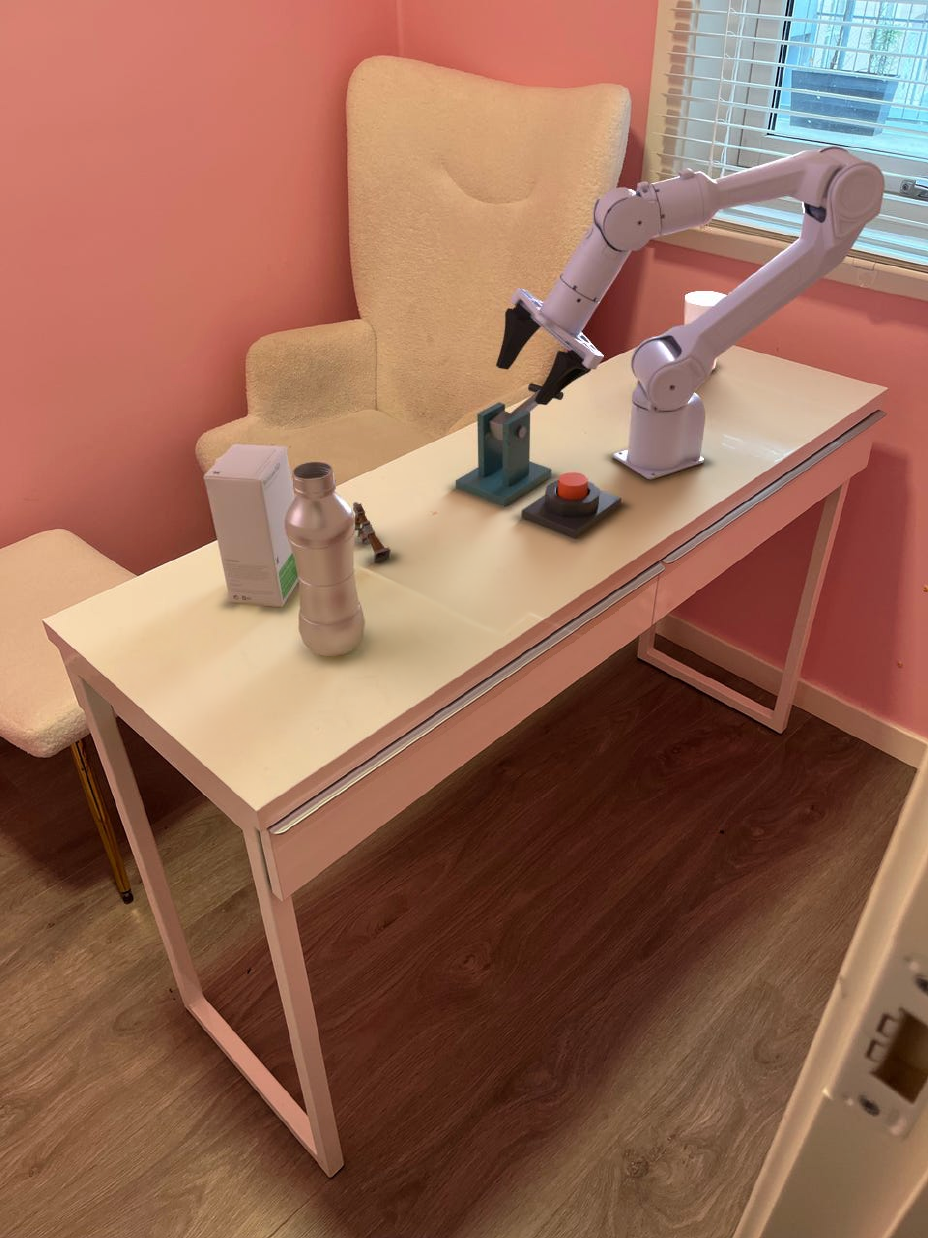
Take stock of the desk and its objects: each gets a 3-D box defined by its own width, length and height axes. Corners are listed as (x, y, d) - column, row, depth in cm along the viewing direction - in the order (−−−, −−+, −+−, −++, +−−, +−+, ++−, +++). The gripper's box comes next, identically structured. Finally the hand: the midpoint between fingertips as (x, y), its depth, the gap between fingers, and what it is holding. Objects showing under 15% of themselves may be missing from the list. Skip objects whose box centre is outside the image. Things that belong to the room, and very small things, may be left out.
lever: (533, 392, 129) (531, 376, 127) (564, 402, 126) (563, 385, 125) (482, 434, 123) (480, 418, 122) (513, 445, 121) (511, 428, 119)
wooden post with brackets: (359, 519, 118) (362, 496, 114) (386, 570, 115) (390, 548, 111) (345, 523, 117) (348, 500, 114) (372, 575, 114) (376, 552, 110)
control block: (568, 487, 125) (569, 466, 124) (621, 506, 121) (622, 484, 119) (521, 518, 119) (521, 497, 117) (575, 539, 115) (576, 517, 113)
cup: (677, 373, 154) (685, 304, 148) (677, 358, 160) (684, 290, 153) (720, 375, 153) (730, 305, 147) (718, 359, 159) (727, 291, 152)
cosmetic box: (282, 610, 105) (261, 482, 96) (225, 604, 106) (198, 477, 97) (307, 567, 112) (290, 444, 102) (253, 562, 113) (231, 440, 103)
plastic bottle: (303, 628, 102) (277, 456, 90) (367, 623, 103) (349, 452, 91) (300, 666, 97) (271, 490, 85) (367, 662, 97) (349, 485, 85)
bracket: (503, 460, 132) (503, 391, 126) (551, 476, 128) (553, 407, 122) (455, 488, 126) (453, 418, 120) (504, 507, 122) (504, 435, 116)
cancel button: (568, 483, 121) (569, 469, 119) (593, 492, 119) (593, 477, 118) (551, 495, 119) (552, 480, 117) (576, 504, 117) (577, 489, 115)
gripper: (521, 250, 116) (465, 348, 122) (604, 318, 110) (540, 417, 116) (554, 261, 121) (498, 354, 128) (634, 326, 115) (571, 420, 122)
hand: (520, 385), depth 122 cm, fingers open, 7 cm apart
